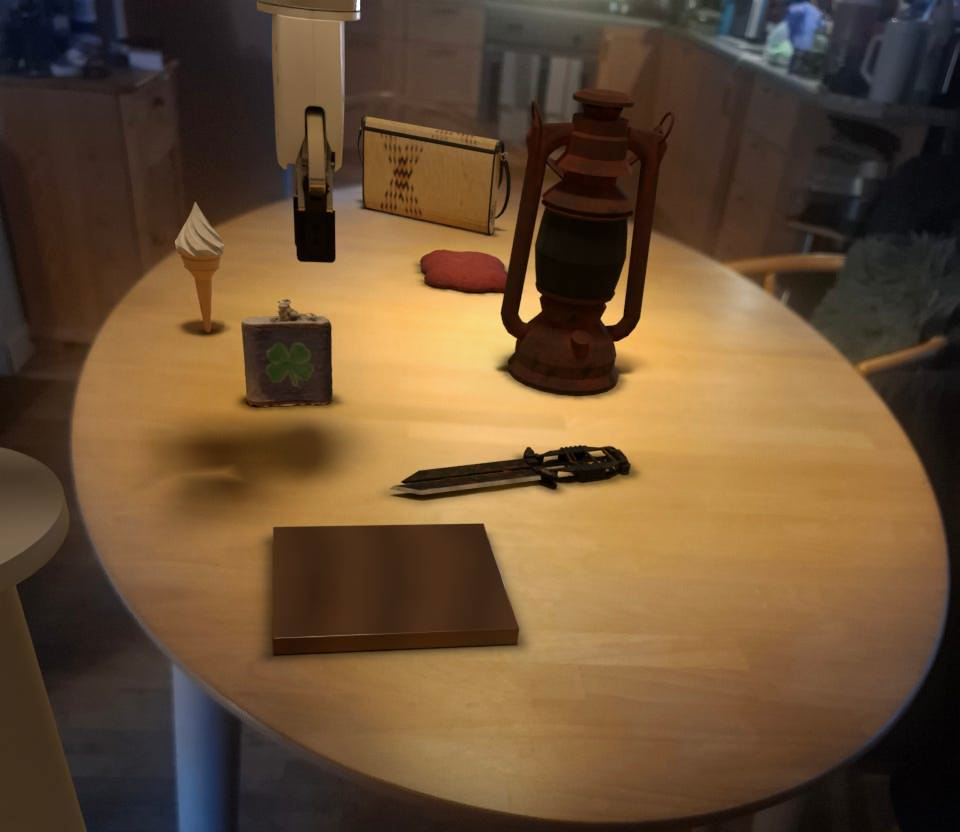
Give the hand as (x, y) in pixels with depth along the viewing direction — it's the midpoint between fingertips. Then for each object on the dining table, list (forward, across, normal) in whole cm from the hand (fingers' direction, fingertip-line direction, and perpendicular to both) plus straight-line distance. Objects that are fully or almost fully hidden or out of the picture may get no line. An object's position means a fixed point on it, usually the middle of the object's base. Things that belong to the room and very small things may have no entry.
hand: (314, 252), depth 76 cm
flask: (+19, -13, -2) cm, 23 cm away
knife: (+19, +6, +18) cm, 27 cm away
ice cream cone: (+19, -33, -12) cm, 40 cm away
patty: (+19, -59, +26) cm, 67 cm away
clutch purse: (+19, -92, +26) cm, 98 cm away
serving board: (+19, +23, +4) cm, 30 cm away
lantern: (+19, -21, +31) cm, 42 cm away
